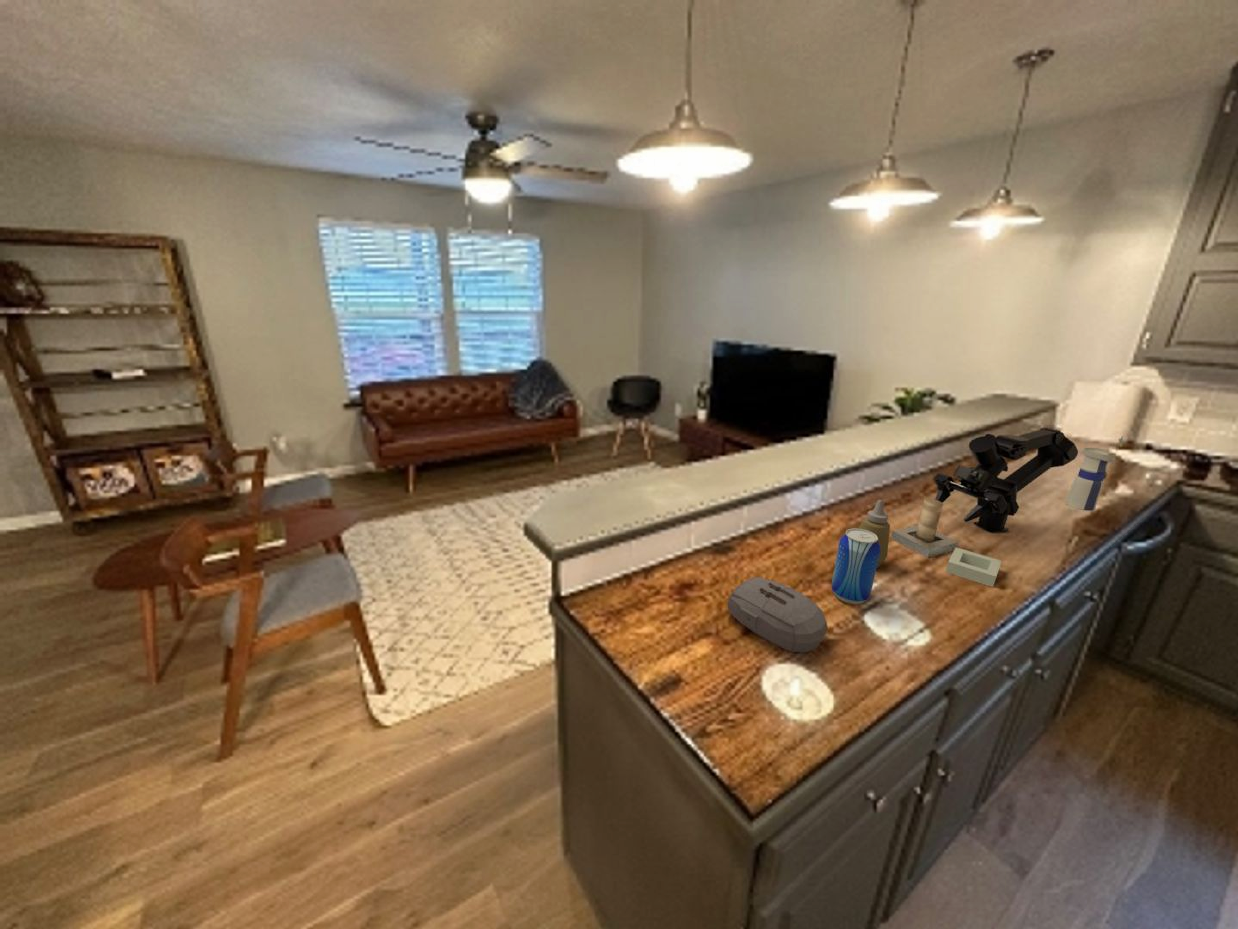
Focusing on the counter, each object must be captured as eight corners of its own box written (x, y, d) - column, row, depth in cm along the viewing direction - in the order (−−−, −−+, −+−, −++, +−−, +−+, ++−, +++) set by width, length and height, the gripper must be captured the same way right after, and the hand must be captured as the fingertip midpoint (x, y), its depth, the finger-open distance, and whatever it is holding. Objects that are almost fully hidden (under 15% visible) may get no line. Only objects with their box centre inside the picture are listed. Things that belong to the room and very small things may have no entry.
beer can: (866, 610, 111) (880, 548, 105) (827, 598, 115) (838, 537, 110) (871, 592, 118) (884, 532, 112) (833, 581, 122) (844, 523, 116)
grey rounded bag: (717, 618, 108) (800, 669, 94) (720, 585, 105) (806, 633, 91) (758, 592, 117) (839, 636, 103) (762, 562, 115) (846, 602, 100)
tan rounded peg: (921, 539, 143) (931, 498, 138) (935, 546, 139) (947, 504, 134) (910, 542, 141) (920, 500, 137) (924, 549, 137) (935, 506, 133)
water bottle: (1083, 500, 170) (1108, 431, 162) (1103, 511, 162) (1131, 438, 154) (1057, 499, 171) (1081, 430, 162) (1076, 510, 163) (1102, 437, 154)
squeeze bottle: (882, 558, 132) (895, 496, 126) (887, 573, 125) (901, 509, 119) (849, 553, 135) (861, 492, 129) (852, 568, 128) (865, 504, 122)
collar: (953, 557, 133) (955, 547, 132) (998, 570, 127) (1001, 560, 126) (945, 571, 126) (948, 561, 125) (992, 587, 120) (996, 576, 119)
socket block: (919, 531, 147) (920, 524, 146) (956, 550, 137) (958, 542, 136) (890, 538, 143) (892, 530, 142) (927, 557, 133) (929, 549, 132)
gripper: (944, 446, 144) (909, 486, 144) (1012, 467, 128) (973, 512, 128) (956, 468, 150) (922, 507, 150) (1023, 491, 134) (985, 534, 134)
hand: (949, 514), depth 140 cm, fingers open, 9 cm apart
